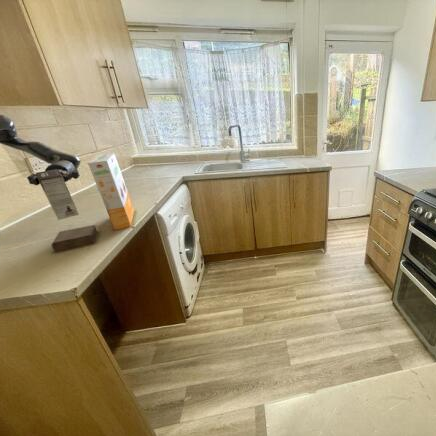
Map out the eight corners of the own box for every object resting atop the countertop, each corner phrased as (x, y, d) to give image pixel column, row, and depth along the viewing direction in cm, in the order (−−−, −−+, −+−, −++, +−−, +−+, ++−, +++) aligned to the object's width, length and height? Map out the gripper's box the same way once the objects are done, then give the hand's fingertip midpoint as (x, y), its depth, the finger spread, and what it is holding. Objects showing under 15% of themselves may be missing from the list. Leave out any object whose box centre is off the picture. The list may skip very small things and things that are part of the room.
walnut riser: (55, 252, 91) (50, 243, 90) (62, 239, 101) (58, 231, 99) (94, 244, 97) (91, 235, 95) (98, 232, 106) (94, 224, 105)
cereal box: (120, 213, 126) (98, 154, 114) (134, 210, 129) (114, 153, 116) (115, 230, 108) (87, 163, 95) (131, 227, 110) (106, 160, 98)
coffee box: (53, 211, 95) (34, 172, 87) (74, 206, 99) (57, 168, 91) (58, 220, 90) (38, 179, 82) (79, 214, 94) (62, 175, 86)
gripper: (85, 178, 105) (79, 187, 92) (41, 183, 98) (27, 194, 85) (78, 160, 102) (71, 167, 89) (32, 164, 95) (17, 173, 82)
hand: (50, 180), depth 87 cm, fingers closed on coffee box, 7 cm apart
